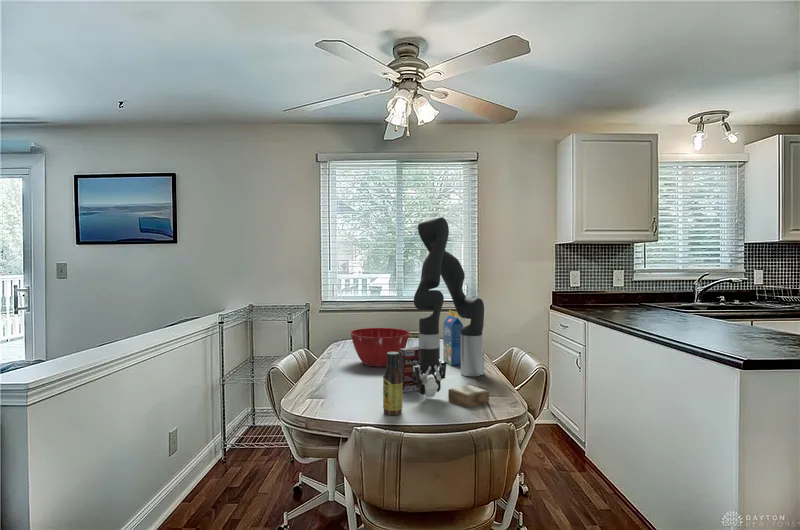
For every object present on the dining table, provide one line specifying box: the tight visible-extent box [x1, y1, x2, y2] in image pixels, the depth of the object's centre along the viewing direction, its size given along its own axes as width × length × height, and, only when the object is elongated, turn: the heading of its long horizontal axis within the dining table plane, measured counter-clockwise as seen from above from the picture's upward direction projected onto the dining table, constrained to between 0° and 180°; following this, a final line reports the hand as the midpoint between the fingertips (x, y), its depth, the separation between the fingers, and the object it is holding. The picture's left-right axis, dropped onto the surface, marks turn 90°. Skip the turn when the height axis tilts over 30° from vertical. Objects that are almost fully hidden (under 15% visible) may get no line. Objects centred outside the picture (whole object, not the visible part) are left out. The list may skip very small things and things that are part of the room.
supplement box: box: [399, 346, 421, 393], centre depth 189 cm, size 9×5×16 cm, turn 117°
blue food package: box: [442, 309, 464, 367], centre depth 237 cm, size 6×12×25 cm, turn 13°
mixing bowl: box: [349, 327, 411, 368], centre depth 235 cm, size 28×28×16 cm
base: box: [448, 384, 490, 408], centre depth 174 cm, size 10×10×4 cm
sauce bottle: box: [382, 352, 403, 416], centre depth 161 cm, size 7×6×20 cm
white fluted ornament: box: [424, 376, 438, 398], centre depth 177 cm, size 6×6×7 cm
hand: (429, 392), depth 177 cm, fingers closed on white fluted ornament, 6 cm apart
